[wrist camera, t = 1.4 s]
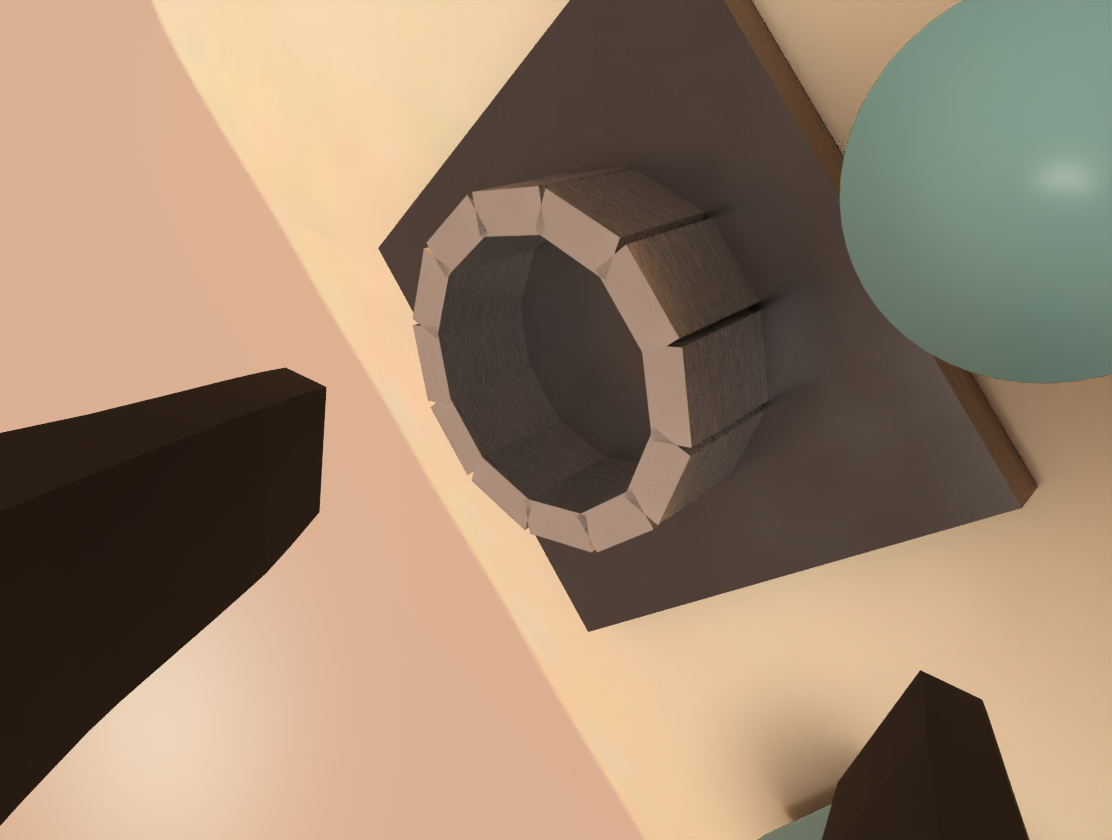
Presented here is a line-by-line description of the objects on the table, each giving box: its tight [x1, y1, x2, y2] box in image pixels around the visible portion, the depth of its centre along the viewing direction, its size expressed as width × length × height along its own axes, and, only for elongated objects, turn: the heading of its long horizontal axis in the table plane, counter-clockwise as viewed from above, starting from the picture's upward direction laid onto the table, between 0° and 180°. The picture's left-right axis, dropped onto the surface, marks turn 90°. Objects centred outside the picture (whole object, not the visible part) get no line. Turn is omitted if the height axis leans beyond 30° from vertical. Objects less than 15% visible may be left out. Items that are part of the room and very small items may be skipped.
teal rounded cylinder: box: [840, 0, 1112, 383], centre depth 12 cm, size 5×5×5 cm
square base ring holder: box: [378, 0, 1038, 632], centre depth 21 cm, size 14×14×4 cm
